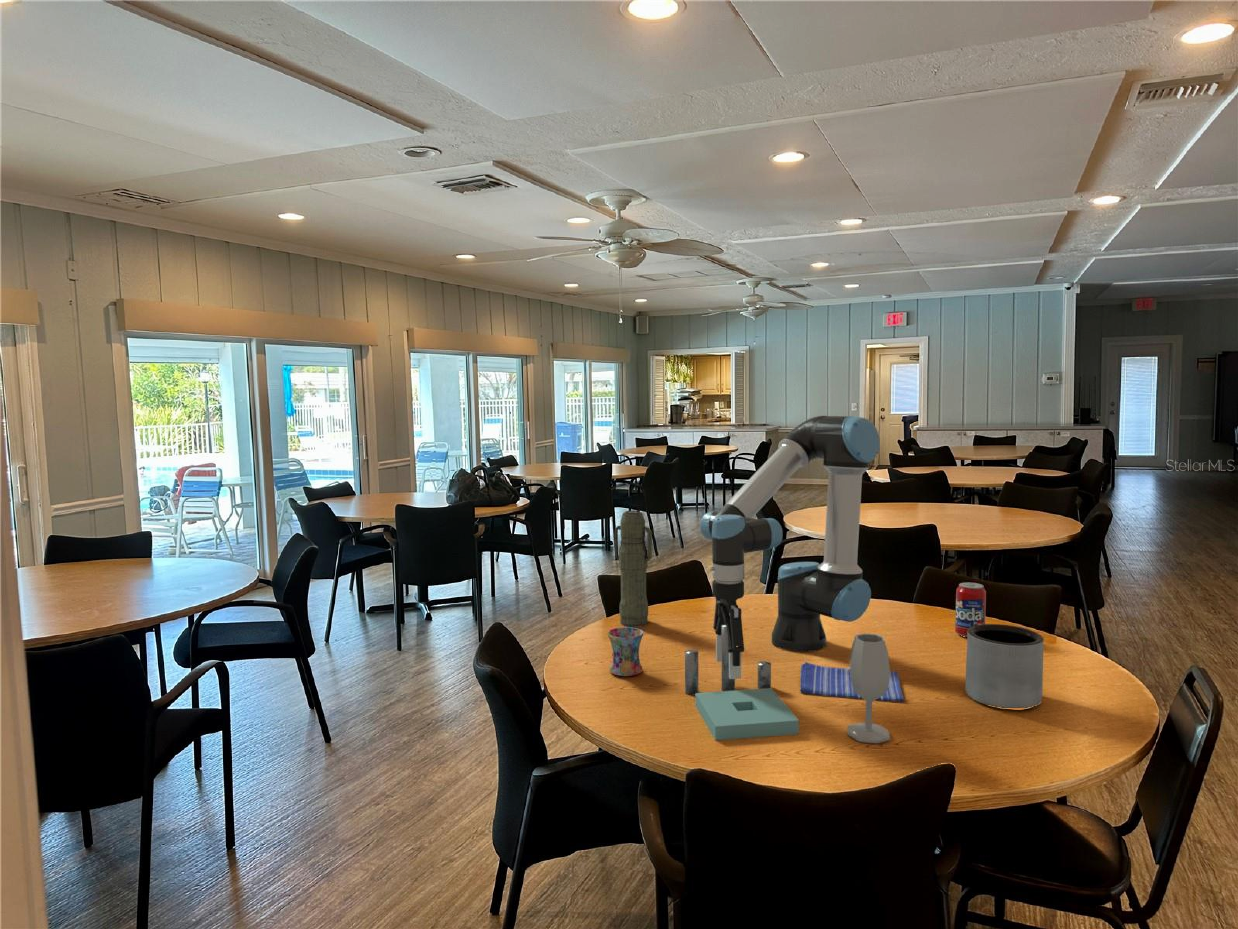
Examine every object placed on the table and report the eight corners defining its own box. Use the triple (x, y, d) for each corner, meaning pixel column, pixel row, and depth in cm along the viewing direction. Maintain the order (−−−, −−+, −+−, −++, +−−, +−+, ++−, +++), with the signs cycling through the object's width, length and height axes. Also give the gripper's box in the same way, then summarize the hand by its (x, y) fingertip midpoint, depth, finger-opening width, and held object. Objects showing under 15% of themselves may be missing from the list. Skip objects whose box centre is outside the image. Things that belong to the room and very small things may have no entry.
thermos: (650, 627, 239) (649, 514, 236) (612, 625, 242) (610, 513, 238) (655, 619, 248) (654, 509, 244) (618, 617, 250) (617, 509, 247)
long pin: (732, 687, 191) (732, 623, 189) (736, 692, 188) (736, 627, 186) (720, 687, 191) (719, 623, 189) (723, 692, 187) (723, 627, 186)
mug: (636, 681, 196) (635, 639, 195) (602, 676, 199) (601, 635, 198) (652, 665, 207) (652, 626, 206) (620, 661, 210) (619, 622, 209)
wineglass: (840, 727, 167) (841, 632, 165) (879, 725, 168) (881, 630, 166) (856, 746, 159) (857, 645, 157) (897, 743, 160) (899, 643, 157)
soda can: (986, 633, 229) (988, 583, 227) (982, 641, 222) (984, 589, 221) (957, 629, 233) (959, 580, 231) (952, 637, 226) (954, 586, 225)
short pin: (768, 684, 192) (768, 661, 192) (772, 689, 189) (772, 665, 188) (755, 685, 192) (755, 661, 191) (759, 690, 189) (759, 666, 188)
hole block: (770, 700, 182) (771, 688, 182) (798, 734, 165) (798, 720, 164) (695, 705, 180) (695, 693, 180) (715, 740, 162) (715, 726, 162)
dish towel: (801, 671, 203) (801, 660, 202) (898, 678, 196) (898, 667, 196) (798, 696, 186) (798, 684, 186) (904, 705, 180) (904, 693, 180)
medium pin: (696, 689, 190) (696, 649, 189) (699, 694, 187) (699, 653, 186) (683, 690, 189) (683, 650, 188) (686, 695, 186) (686, 654, 185)
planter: (1011, 718, 171) (1013, 649, 169) (949, 694, 185) (951, 629, 183) (1057, 704, 178) (1060, 637, 177) (995, 681, 192) (997, 619, 191)
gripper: (701, 569, 198) (701, 654, 200) (726, 593, 174) (726, 688, 177) (729, 568, 199) (729, 652, 201) (758, 591, 175) (758, 686, 178)
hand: (728, 669), depth 189 cm, fingers open, 11 cm apart
